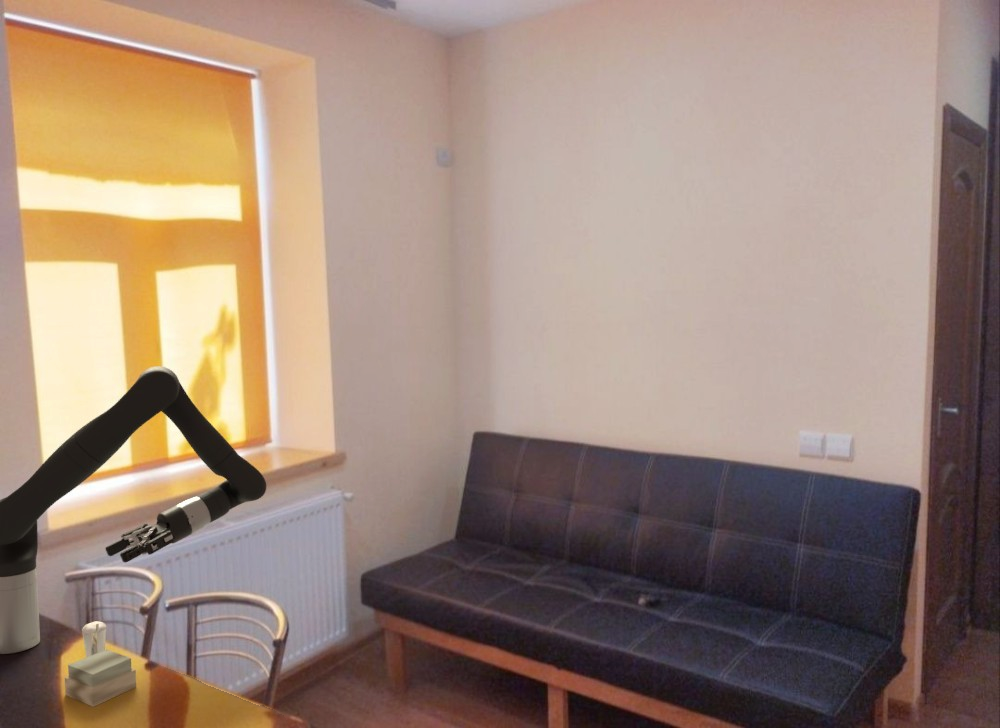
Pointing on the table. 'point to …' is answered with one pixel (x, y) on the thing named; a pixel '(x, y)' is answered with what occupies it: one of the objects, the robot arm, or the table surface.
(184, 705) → the table surface
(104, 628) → the milkshake
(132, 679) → the tower base
